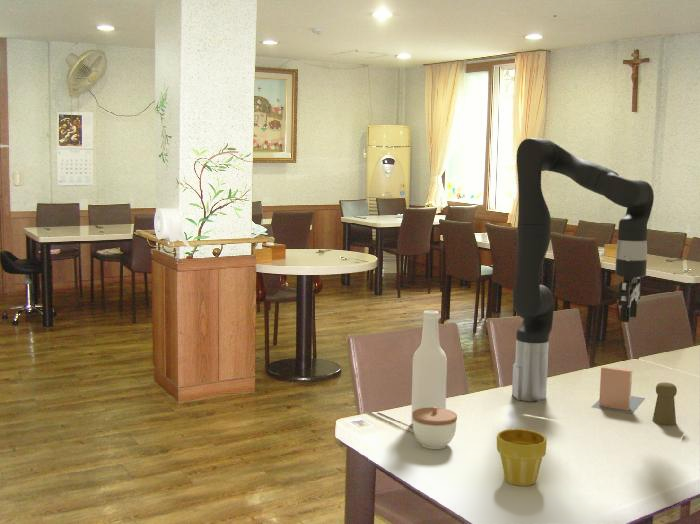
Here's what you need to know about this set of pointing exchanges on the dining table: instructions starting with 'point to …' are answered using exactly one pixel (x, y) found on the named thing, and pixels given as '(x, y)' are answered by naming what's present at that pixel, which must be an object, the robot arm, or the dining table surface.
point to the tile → (615, 388)
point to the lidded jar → (434, 426)
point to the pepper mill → (665, 404)
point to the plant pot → (521, 455)
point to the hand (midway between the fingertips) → (628, 319)
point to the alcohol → (429, 367)
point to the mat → (633, 406)
